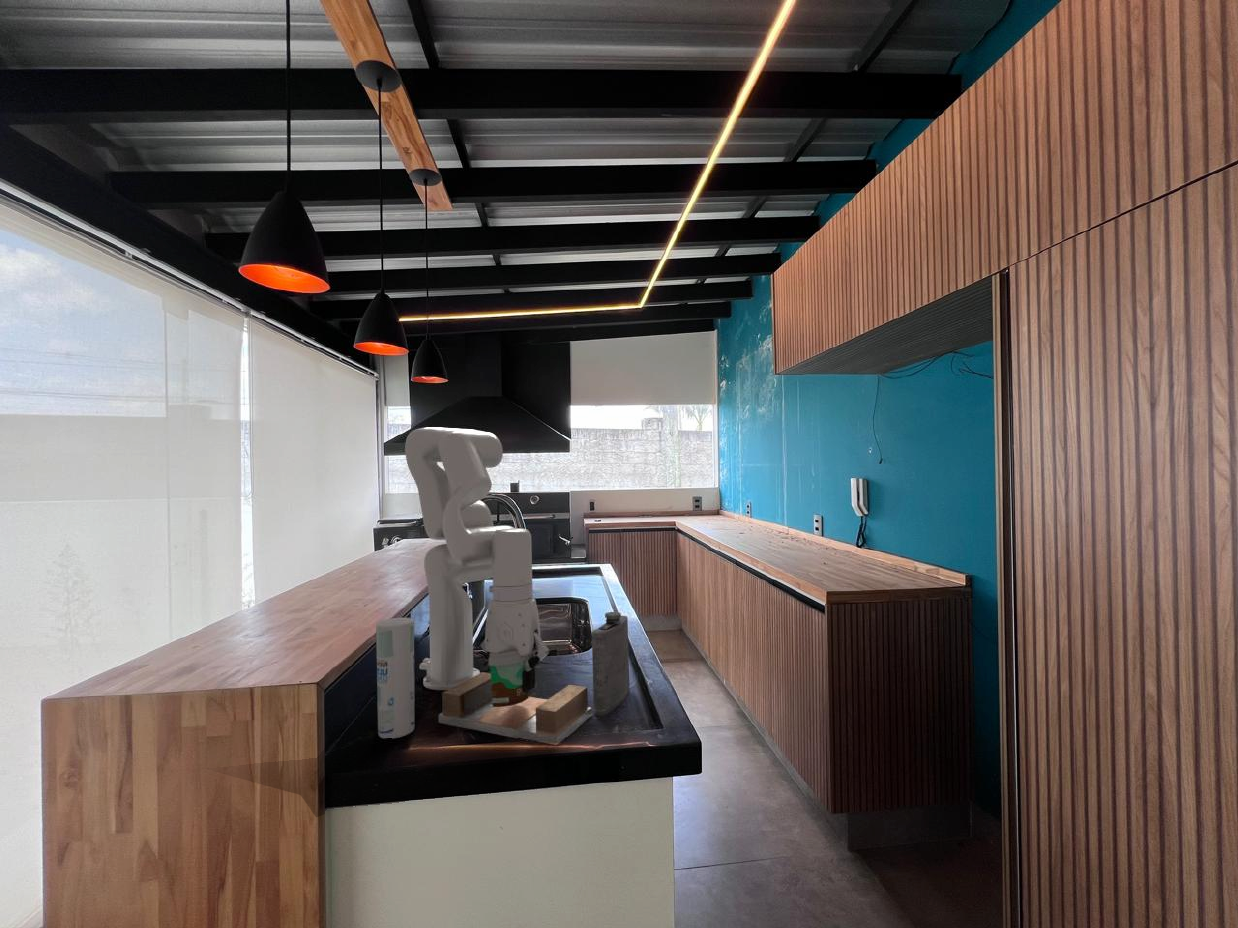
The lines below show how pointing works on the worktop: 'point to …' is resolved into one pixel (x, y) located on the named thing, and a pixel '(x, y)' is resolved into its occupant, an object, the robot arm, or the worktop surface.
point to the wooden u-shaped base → (515, 711)
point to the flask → (610, 663)
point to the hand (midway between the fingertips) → (514, 686)
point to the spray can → (395, 677)
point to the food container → (507, 678)
